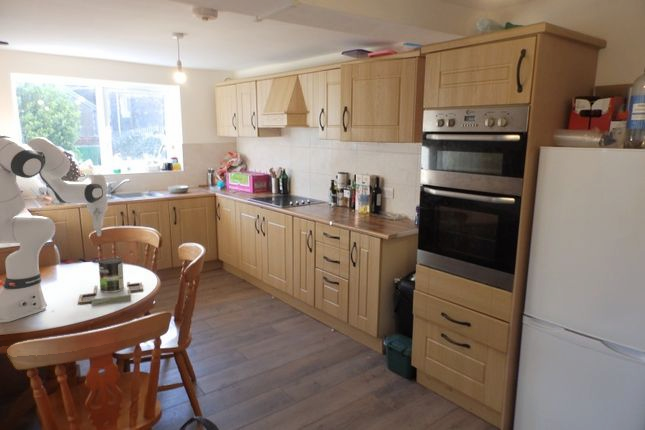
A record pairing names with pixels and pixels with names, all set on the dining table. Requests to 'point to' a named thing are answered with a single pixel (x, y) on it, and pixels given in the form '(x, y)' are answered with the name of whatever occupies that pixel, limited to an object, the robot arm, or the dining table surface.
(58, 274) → the dining table surface
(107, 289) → the coffee can
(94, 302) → the lane
